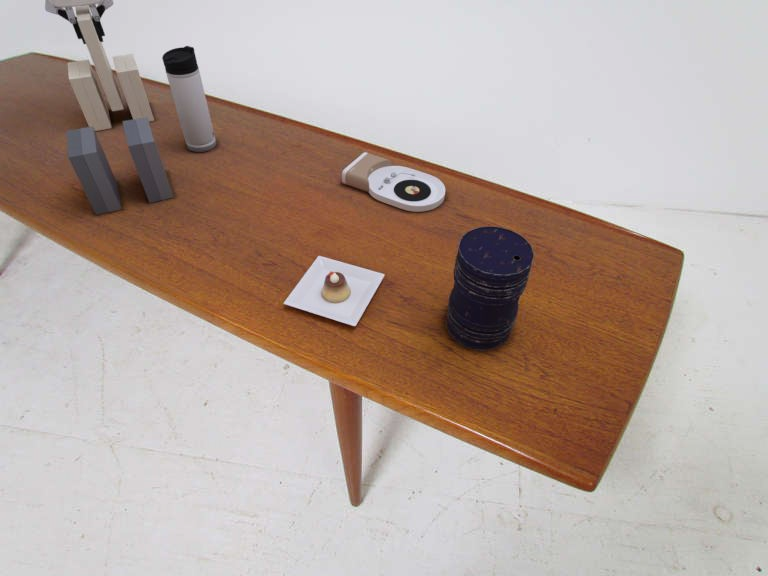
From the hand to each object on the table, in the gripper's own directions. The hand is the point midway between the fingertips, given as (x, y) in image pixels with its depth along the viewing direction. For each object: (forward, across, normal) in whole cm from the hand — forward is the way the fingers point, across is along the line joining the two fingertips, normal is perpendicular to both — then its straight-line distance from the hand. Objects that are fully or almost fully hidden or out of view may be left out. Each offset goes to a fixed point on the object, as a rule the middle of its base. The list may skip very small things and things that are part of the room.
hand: (93, 40), depth 107 cm
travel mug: (+18, -15, +21) cm, 31 cm away
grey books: (+17, +1, +34) cm, 38 cm away
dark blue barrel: (+18, -42, +91) cm, 102 cm away
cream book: (+14, 0, 0) cm, 14 cm away
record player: (+18, -47, +54) cm, 73 cm away
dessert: (+18, -25, +76) cm, 82 cm away
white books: (+17, 0, 0) cm, 17 cm away
